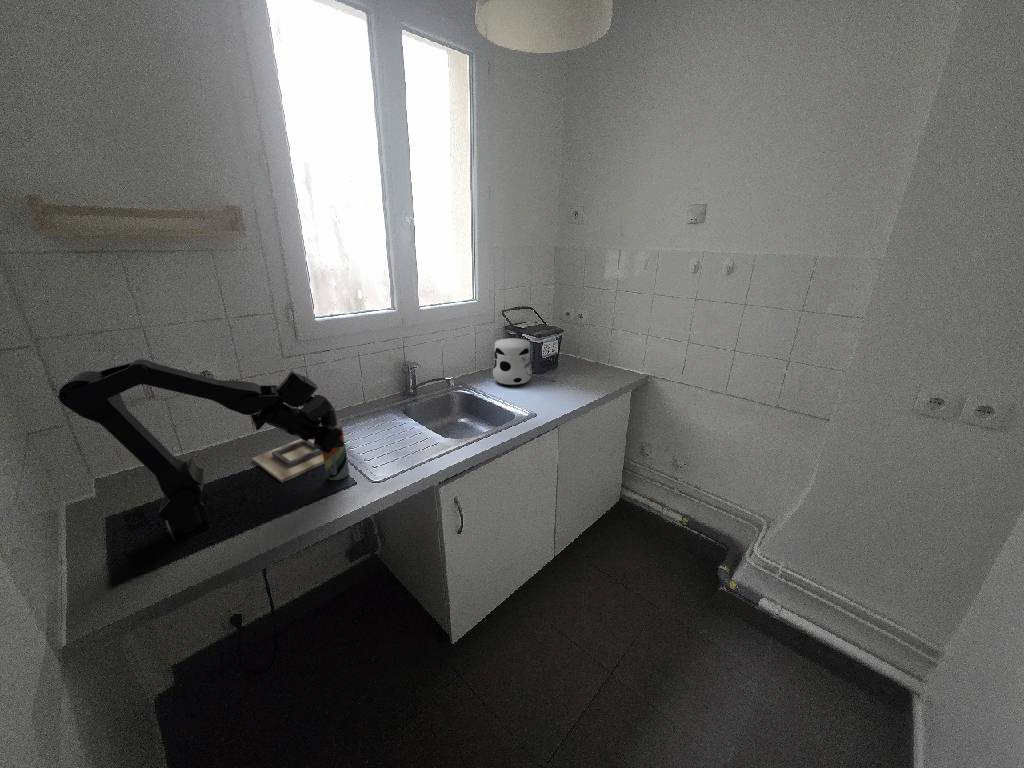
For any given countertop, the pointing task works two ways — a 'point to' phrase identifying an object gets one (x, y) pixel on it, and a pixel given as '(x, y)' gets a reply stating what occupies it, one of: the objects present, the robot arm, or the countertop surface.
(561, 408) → the countertop surface
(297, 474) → the port board
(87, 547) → the countertop surface
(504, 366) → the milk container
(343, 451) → the lotion bottle
